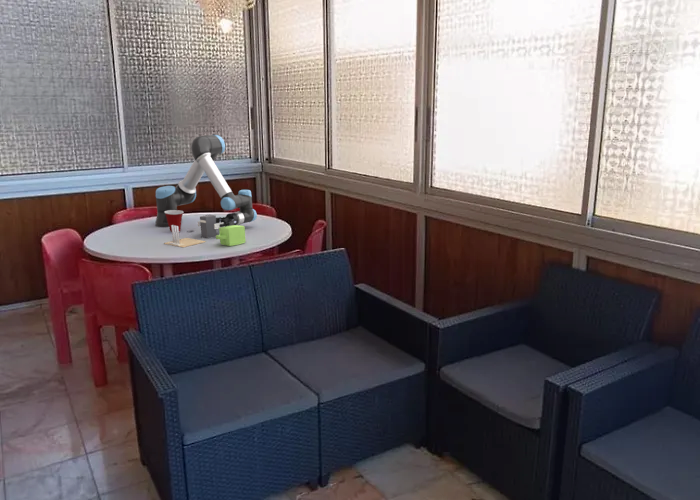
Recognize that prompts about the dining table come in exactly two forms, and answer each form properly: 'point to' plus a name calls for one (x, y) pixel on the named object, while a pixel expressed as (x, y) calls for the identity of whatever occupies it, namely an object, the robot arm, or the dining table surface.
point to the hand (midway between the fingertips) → (206, 225)
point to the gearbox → (231, 235)
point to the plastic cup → (174, 218)
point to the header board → (184, 241)
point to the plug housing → (208, 226)
